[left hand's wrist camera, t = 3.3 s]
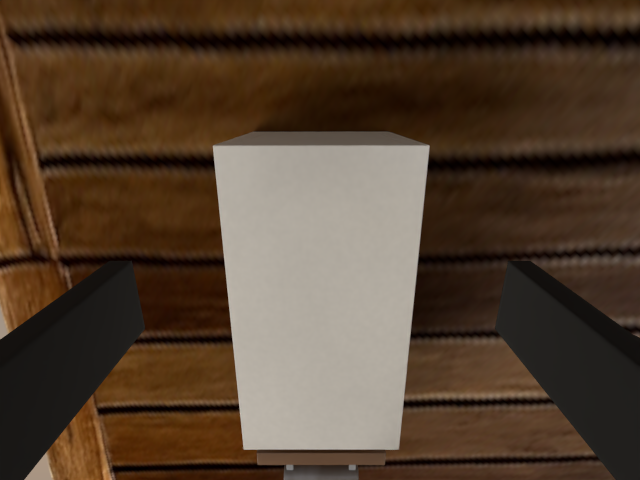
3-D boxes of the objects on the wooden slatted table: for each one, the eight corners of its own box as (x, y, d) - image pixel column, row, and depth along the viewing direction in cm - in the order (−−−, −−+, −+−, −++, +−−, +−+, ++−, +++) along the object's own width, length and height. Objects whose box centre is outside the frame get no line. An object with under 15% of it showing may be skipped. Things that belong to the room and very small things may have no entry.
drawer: (366, 426, 36) (380, 520, 28) (275, 426, 36) (262, 520, 28) (380, 188, 28) (405, 221, 20) (261, 188, 28) (236, 222, 20)
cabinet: (375, 348, 34) (399, 449, 24) (266, 348, 34) (243, 449, 24) (389, 131, 27) (430, 145, 17) (252, 131, 27) (212, 145, 17)
